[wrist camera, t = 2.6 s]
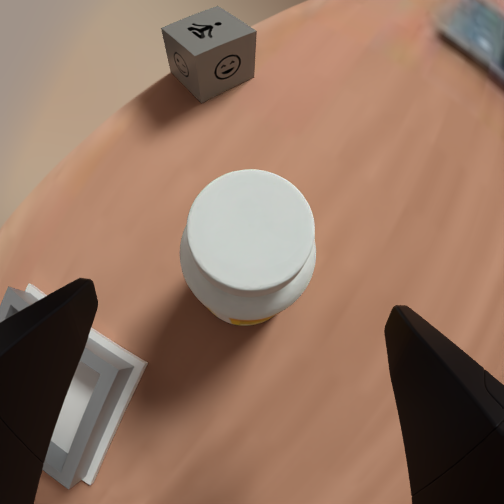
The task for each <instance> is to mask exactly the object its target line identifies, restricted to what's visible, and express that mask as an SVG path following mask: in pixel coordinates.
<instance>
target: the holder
mask: <svg viewBox="0 0 504 504" xmlns="http://www.w3.org/2000/svg"><path fill="white" fill-rule="evenodd" d="M45 296H47V295H46V294H44V293H43V292H42V291H41V290H39V289H38V288H37V287H35V286H34V285H32V284H30V283H29V284H28V286H27V288H26V290H25V291H21V290H18V289H15V288H12V287H9V286H8V288H7V291H6V293H5V296H4V298H3V300H2V303H1V305H0V322H2V321H3V320H5V319H7V318H8V317H10V316H12V315H14V314H15V313H17V312H19V311H21V310H22V309H24V308H26V307H28V306H29V305H31V304H33V303H35V302H36V301H38V300H40V299H42V298H44V297H45ZM147 364H148V362H146V361H144V360H142V359H141V358H139V357H137V356H136V355H134V354H132V353H131V352H129V351H127V350H126V349H124V348H123V347H121V346H119V345H118V344H116V343H115V342H113V341H111V340H110V339H108V338H107V337H105V336H104V335H102V334H101V333H99V332H98V331H96V330H95V329H93V328H92V327H91V330H90V333H89V337H88V340H87V343H86V346H85V349H84V352H83V354H82V357H81V359H80V362H79V364H78V366H77V369H76V371H75V374H74V377H73V379H72V382H71V384H70V387H69V390H68V392H67V395H66V398H65V400H64V403H63V406H62V409H61V411H60V414H59V417H58V420H57V423H56V426H55V429H54V432H53V435H52V438H51V441H50V445H49V448H48V451H47V455H46V458H45V461H44V463H43V464H44V465H43V469H42V470H44V471H45V472H46V473H47V474H49V475H50V476H51V477H53V478H54V479H55V480H56V481H58V482H59V483H61V484H62V485H63V486H65V487H66V488H67V489H70V488H72V487H73V486H74V485H75V484H77V483H78V482H79V481H81V480H83V481H84V482H86V483H87V484H89V485H91V484H92V483H94V481H95V478H96V476H97V474H98V471H99V469H100V467H101V464H102V462H103V460H104V457H105V455H106V453H107V451H108V448H109V446H110V444H111V442H112V439H113V437H114V435H115V433H116V430H117V428H118V426H119V424H120V422H121V419H122V417H123V415H124V413H125V411H126V409H127V406H128V404H129V402H130V400H131V398H132V396H133V394H134V391H135V389H136V387H137V385H138V383H139V381H140V379H141V377H142V375H143V372H144V370H145V368H146V366H147Z"/></svg>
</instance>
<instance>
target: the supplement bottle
mask: <svg viewBox="0 0 504 504" xmlns="http://www.w3.org/2000/svg"><path fill="white" fill-rule="evenodd" d="M314 239H315V225H314V219H313V214H312V211H311V209H310V206H309V204H308V202H307V201H306V199H305V198H304V196H303V195H302V193H301V192H300V191H299V190H298V189H297V188H296V187H295V186H294V185H293V184H291V183H290V182H289V181H287V180H286V179H284V178H282V177H280V176H278V175H276V174H273V173H270V172H267V171H262V170H254V169H248V170H239V171H233V172H230V173H227V174H225V175H222V176H220V177H218V178H217V179H215V180H213V181H212V182H211V183H209V184H208V185H207V186H206V187H205V188H204V189H203V190H202V191H201V192H200V193H199V194H198V196H197V197H196V199H195V201H194V202H193V204H192V206H191V209H190V211H189V214H188V219H187V225H186V227H185V229H184V232H183V235H182V239H181V244H180V263H181V268H182V272H183V275H184V278H185V280H186V282H187V284H188V286H189V288H190V289H191V291H192V292H193V294H194V295H195V296H196V297H197V298H198V299H199V301H200V302H201V303H202V304H203V305H205V306H206V307H207V308H208V309H209V310H210V311H211V312H212V313H213V314H214V315H215V316H216V317H218V318H220V319H221V320H223V321H225V322H228V323H230V324H234V325H241V326H249V325H255V324H259V323H262V322H264V321H266V320H268V319H270V318H272V317H274V316H275V315H277V314H278V313H280V312H282V311H283V310H285V309H286V308H288V307H289V306H290V305H292V304H293V303H294V302H295V301H296V300H297V299H298V298H299V297H300V296H301V294H302V293H303V292H304V291H305V289H306V287H307V286H308V284H309V282H310V280H311V277H312V274H313V271H314V267H315V261H316V247H315V240H314Z"/></svg>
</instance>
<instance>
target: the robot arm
mask: <svg viewBox="0 0 504 504" xmlns="http://www.w3.org/2000/svg"><path fill="white" fill-rule="evenodd" d="M97 308H98V299H97V295H96V291H95V287H94V283H93V281H92V280H91V279H85V278H79V279H77V280H75V281H73V282H71V283H69V284H67V285H66V286H64V287H62V288H60V289H58V290H56V291H55V292H53V293H51V294H49V295H47V296H45V297H44V298H42V299H40V300H38V301H36V302H35V303H33V304H31V305H29V306H28V307H26V308H24V309H22V310H21V311H19V312H17V313H15V314H14V315H12V316H10V317H8V318H7V319H5V320H3V321H2V322H0V504H34V500H35V496H36V492H37V488H38V484H39V480H40V476H41V473H42V469H43V465H44V464H43V463H44V461H45V458H46V455H47V451H48V448H49V445H50V441H51V438H52V435H53V432H54V429H55V426H56V423H57V420H58V417H59V414H60V411H61V409H62V406H63V403H64V400H65V398H66V395H67V392H68V390H69V387H70V384H71V382H72V379H73V377H74V374H75V371H76V369H77V366H78V364H79V362H80V359H81V357H82V354H83V352H84V349H85V346H86V343H87V340H88V337H89V333H90V330H91V327H92V324H93V321H94V317H95V314H96V311H97ZM384 333H385V340H386V347H387V355H388V363H389V371H390V377H391V382H392V386H393V391H394V395H395V400H396V405H397V410H398V415H399V420H400V425H401V430H402V436H403V441H404V447H405V453H406V459H407V466H408V473H409V480H410V487H411V495H412V504H504V385H503V384H502V383H500V382H499V381H498V380H497V379H496V378H494V377H493V376H492V375H491V374H490V373H489V372H488V371H486V370H484V368H483V367H482V366H480V365H479V364H478V363H477V362H476V361H475V360H473V359H472V358H471V357H470V356H469V355H467V354H466V353H465V352H464V351H463V350H461V349H460V348H459V347H458V346H457V345H455V344H454V343H453V342H452V341H450V340H449V339H448V338H447V337H446V336H444V335H443V334H442V333H441V332H439V331H438V330H437V329H436V328H434V327H433V326H432V325H431V324H429V323H428V322H427V321H426V320H424V319H423V318H422V317H421V316H419V315H418V314H417V313H416V312H414V311H413V310H412V309H411V308H409V307H408V306H405V305H396V306H394V307H393V309H392V311H391V313H390V316H389V318H388V320H387V323H386V325H385V330H384Z"/></svg>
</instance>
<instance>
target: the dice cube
mask: <svg viewBox="0 0 504 504" xmlns="http://www.w3.org/2000/svg"><path fill="white" fill-rule="evenodd" d="M161 29H162V34H163V39H164V43H165V48H166V53H167V57H168V62H169V66H170V71H171V73H172V74H173V75H174V76H175V77H176V78H177V79H178V80H179V81H180V82H181V83H182V84H183V85H184V86H185V87H186V88H187V89H188V90H189V91H190V92H191V93H192V94H193V95H194V96H195V97H196V98H197V99H198V100H199V101H200V102H201V103H203V102H205V101H207V100H209V99H211V98H213V97H215V96H217V95H219V94H221V93H223V92H225V91H227V90H229V89H231V88H233V87H235V86H237V85H239V84H241V83H243V82H245V81H247V80H249V79H251V78H254V69H255V50H256V32H257V31H256V30H254V29H253V28H251V27H250V26H248V25H247V24H245V23H244V22H242V21H241V20H239V19H238V18H236V17H235V16H233V15H231V14H230V13H228V12H227V11H225V10H224V9H222V8H220V7H218V6H217V7H213V8H211V9H208V10H205V11H202V12H200V13H197V14H194V15H192V16H189V17H187V18H184V19H182V20H179V21H177V22H174V23H172V24H170V25H167V26H165V27H163V28H161Z"/></svg>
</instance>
